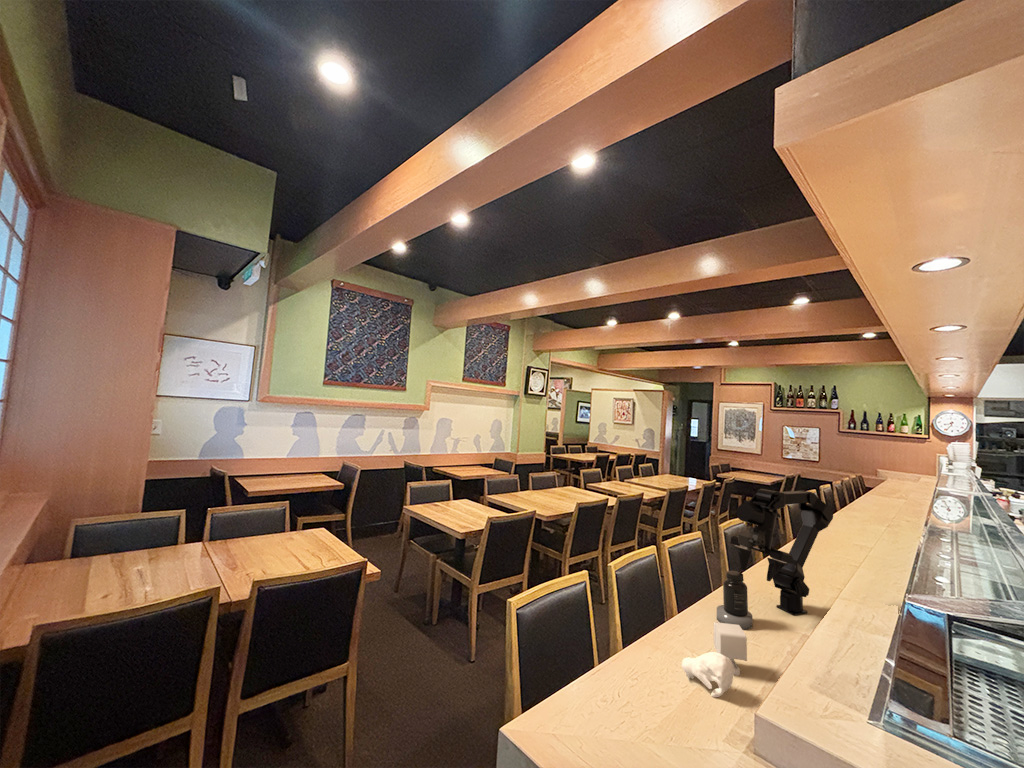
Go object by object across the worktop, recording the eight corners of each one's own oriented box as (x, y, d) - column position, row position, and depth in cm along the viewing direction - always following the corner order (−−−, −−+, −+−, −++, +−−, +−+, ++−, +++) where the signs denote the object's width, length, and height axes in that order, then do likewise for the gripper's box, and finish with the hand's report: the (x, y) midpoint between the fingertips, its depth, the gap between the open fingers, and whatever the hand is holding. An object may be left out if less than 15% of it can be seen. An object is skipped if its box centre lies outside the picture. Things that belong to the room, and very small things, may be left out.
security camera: (747, 678, 104) (747, 636, 105) (717, 673, 105) (716, 632, 106) (739, 663, 110) (738, 623, 111) (710, 659, 112) (710, 620, 112)
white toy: (723, 663, 95) (674, 645, 104) (727, 705, 94) (677, 682, 103) (735, 653, 99) (687, 637, 108) (739, 693, 98) (690, 673, 107)
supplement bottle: (749, 611, 133) (749, 573, 134) (745, 619, 128) (745, 579, 129) (726, 605, 137) (725, 567, 138) (721, 612, 132) (720, 573, 133)
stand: (733, 612, 139) (733, 603, 139) (760, 627, 130) (760, 617, 130) (709, 616, 136) (709, 606, 136) (735, 631, 126) (734, 621, 127)
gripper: (722, 515, 145) (713, 561, 143) (773, 530, 128) (764, 582, 125) (745, 522, 149) (737, 567, 146) (797, 537, 132) (789, 588, 129)
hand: (755, 575), depth 137 cm, fingers open, 9 cm apart
